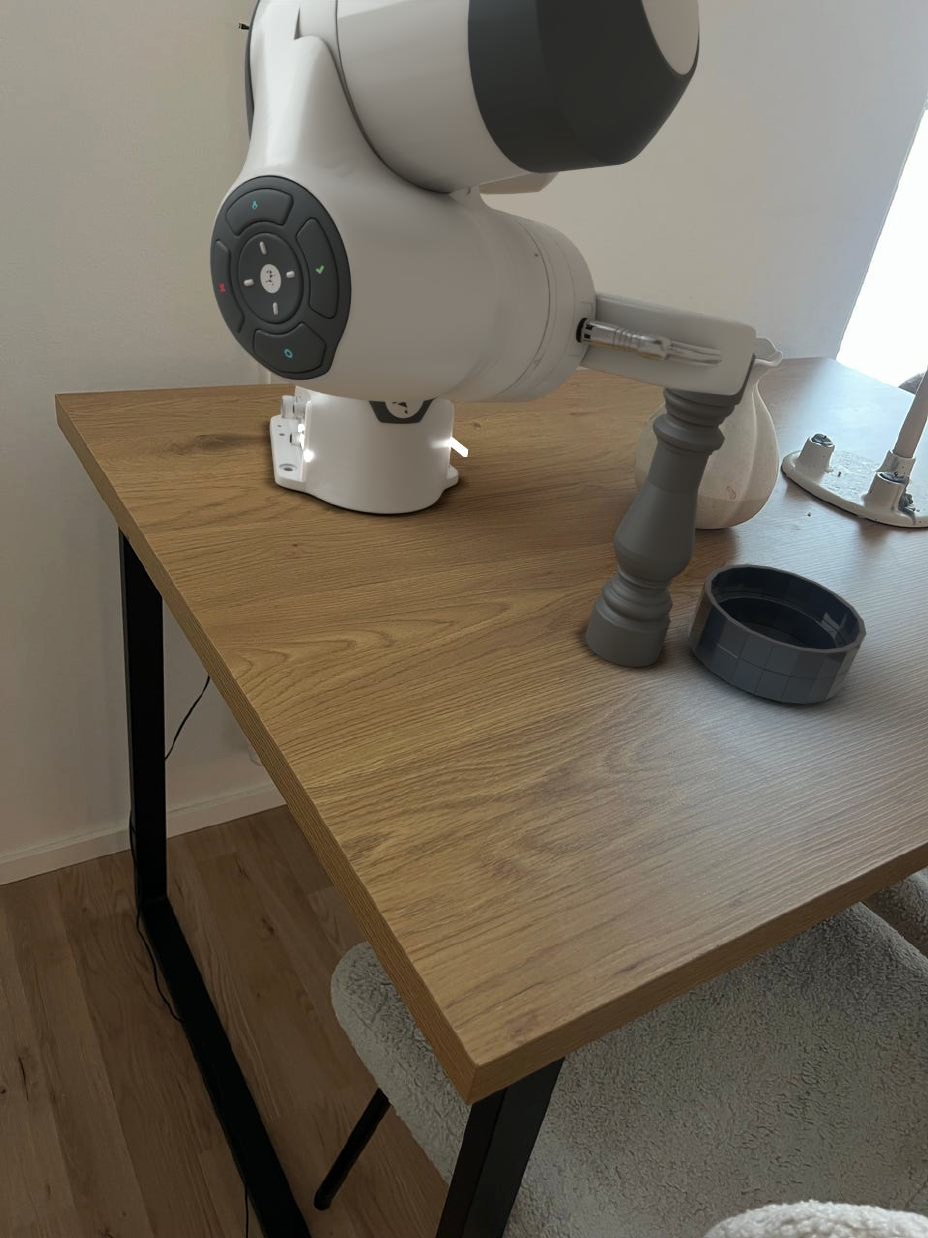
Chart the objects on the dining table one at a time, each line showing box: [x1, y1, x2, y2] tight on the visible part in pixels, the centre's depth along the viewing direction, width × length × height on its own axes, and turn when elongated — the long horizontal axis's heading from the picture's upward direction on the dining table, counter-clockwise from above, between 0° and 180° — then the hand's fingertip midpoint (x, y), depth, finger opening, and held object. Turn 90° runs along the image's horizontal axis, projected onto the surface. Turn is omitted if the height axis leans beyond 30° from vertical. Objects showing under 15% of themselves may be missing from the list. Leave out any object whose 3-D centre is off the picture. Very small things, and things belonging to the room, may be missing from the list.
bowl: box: [687, 563, 867, 705], centre depth 83 cm, size 13×13×6 cm
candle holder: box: [585, 352, 757, 668], centre depth 76 cm, size 6×6×25 cm
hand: (623, 328), depth 61 cm, fingers open, 8 cm apart
